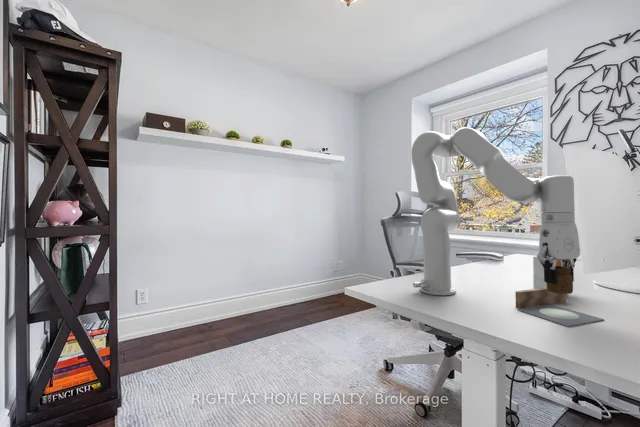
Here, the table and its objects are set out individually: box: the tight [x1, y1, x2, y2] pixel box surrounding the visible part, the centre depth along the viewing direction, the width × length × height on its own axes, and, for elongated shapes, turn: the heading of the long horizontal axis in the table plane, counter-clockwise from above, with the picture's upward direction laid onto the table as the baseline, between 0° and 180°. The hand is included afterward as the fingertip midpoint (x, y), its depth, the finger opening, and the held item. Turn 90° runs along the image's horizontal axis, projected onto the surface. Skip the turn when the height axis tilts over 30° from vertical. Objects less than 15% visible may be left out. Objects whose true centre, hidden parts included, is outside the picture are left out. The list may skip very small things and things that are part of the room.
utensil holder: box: [546, 259, 574, 295], centre depth 86 cm, size 6×6×12 cm
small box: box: [532, 256, 568, 296], centre depth 108 cm, size 8×6×13 cm
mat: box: [517, 304, 605, 328], centre depth 86 cm, size 14×14×1 cm
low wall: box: [515, 287, 567, 309], centre depth 95 cm, size 20×2×5 cm, turn 107°
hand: (558, 281), depth 86 cm, fingers closed on utensil holder, 5 cm apart
